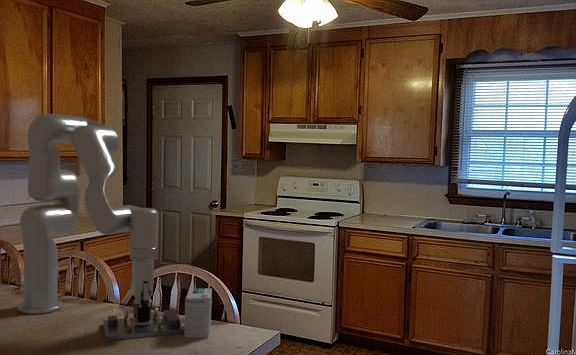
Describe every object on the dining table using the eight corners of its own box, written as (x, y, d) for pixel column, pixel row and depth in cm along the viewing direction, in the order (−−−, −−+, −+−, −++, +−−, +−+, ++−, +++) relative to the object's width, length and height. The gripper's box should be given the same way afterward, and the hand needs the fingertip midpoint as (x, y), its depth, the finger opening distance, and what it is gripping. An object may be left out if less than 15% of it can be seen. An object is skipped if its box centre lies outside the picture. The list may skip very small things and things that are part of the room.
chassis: (103, 324, 149) (103, 309, 149) (174, 318, 157) (174, 304, 157) (106, 340, 136) (106, 324, 136) (183, 333, 144) (184, 317, 144)
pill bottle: (146, 326, 144) (147, 295, 144) (130, 324, 145) (130, 294, 145) (154, 321, 149) (154, 291, 148) (138, 319, 150) (139, 289, 149)
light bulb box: (187, 325, 151) (188, 287, 151) (211, 325, 152) (212, 287, 151) (183, 338, 140) (184, 297, 140) (209, 338, 141) (210, 297, 141)
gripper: (126, 248, 152) (125, 310, 153) (133, 259, 137) (131, 329, 137) (153, 247, 155) (151, 308, 156) (162, 258, 140) (161, 326, 140)
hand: (142, 317), depth 147 cm, fingers closed on pill bottle, 4 cm apart
